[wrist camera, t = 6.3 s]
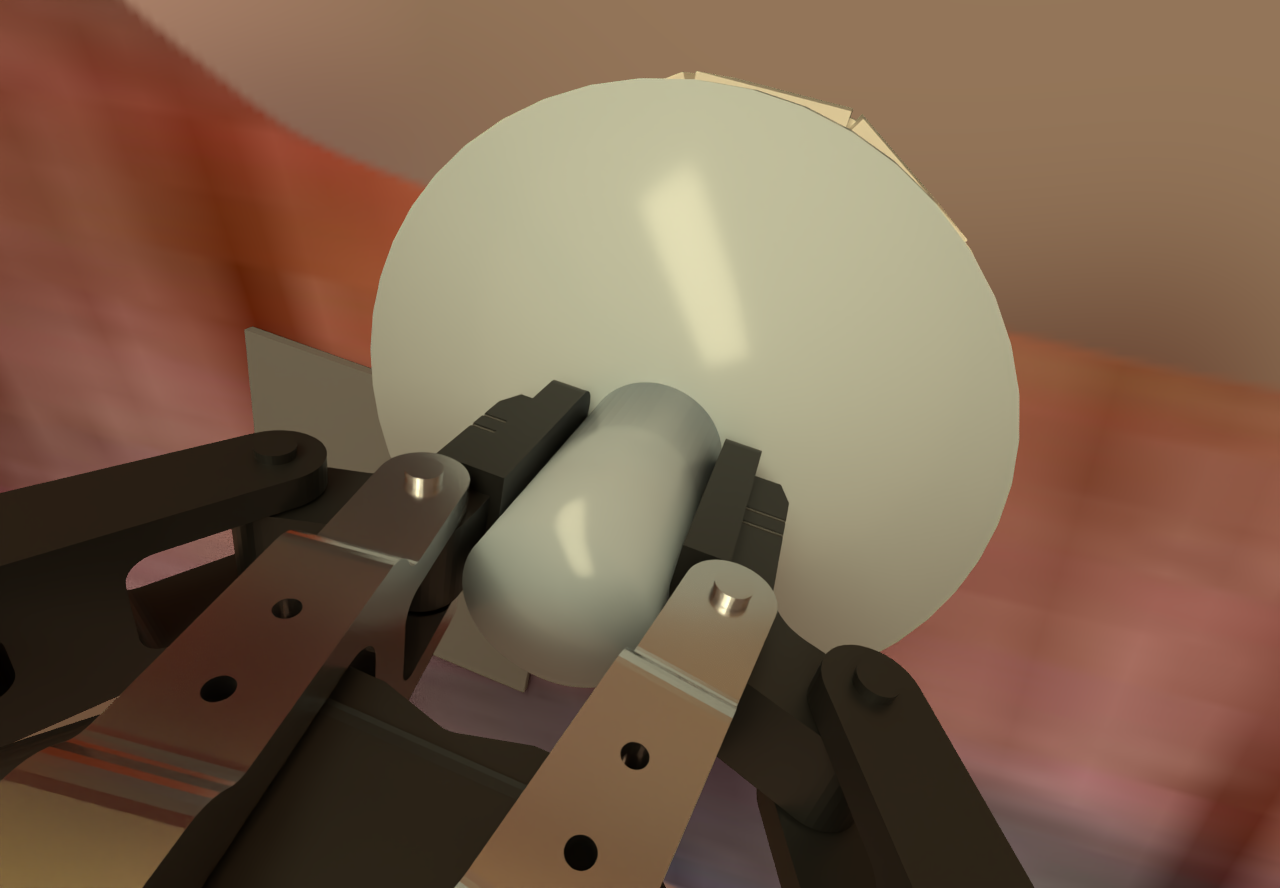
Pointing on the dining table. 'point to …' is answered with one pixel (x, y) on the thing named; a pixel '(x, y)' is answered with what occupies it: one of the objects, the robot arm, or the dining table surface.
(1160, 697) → the dining table surface
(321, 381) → the mat
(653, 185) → the lid
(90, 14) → the dining table surface
